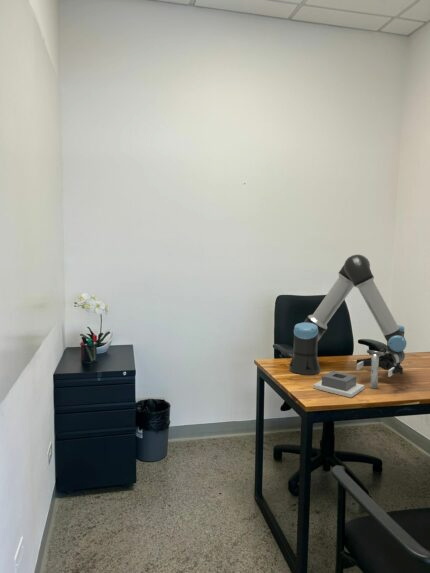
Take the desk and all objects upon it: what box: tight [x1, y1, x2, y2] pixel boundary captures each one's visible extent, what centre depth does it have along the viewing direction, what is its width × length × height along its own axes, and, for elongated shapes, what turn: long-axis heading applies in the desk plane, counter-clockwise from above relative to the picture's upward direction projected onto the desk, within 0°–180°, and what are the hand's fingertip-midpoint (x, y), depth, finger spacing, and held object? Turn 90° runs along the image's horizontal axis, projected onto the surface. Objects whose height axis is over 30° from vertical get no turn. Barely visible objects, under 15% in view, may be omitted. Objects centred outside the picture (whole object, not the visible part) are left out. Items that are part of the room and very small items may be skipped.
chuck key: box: [366, 349, 385, 389], centre depth 177 cm, size 8×3×16 cm, turn 50°
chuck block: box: [312, 370, 366, 398], centre depth 176 cm, size 17×15×6 cm
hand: (372, 370), depth 175 cm, fingers open, 13 cm apart
